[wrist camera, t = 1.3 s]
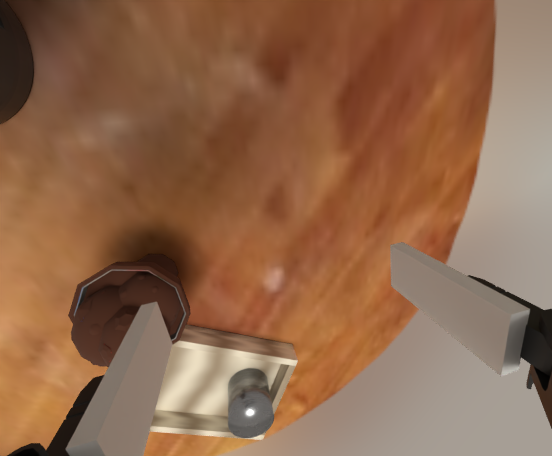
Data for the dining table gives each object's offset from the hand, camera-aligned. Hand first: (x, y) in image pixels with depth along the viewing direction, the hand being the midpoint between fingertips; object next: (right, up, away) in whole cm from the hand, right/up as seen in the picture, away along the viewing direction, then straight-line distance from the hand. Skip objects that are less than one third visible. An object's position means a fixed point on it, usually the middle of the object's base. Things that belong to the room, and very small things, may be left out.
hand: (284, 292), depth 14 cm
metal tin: (-5, -22, +27) cm, 35 cm away
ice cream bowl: (-17, -2, +21) cm, 27 cm away
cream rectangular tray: (-12, -19, +26) cm, 35 cm away
